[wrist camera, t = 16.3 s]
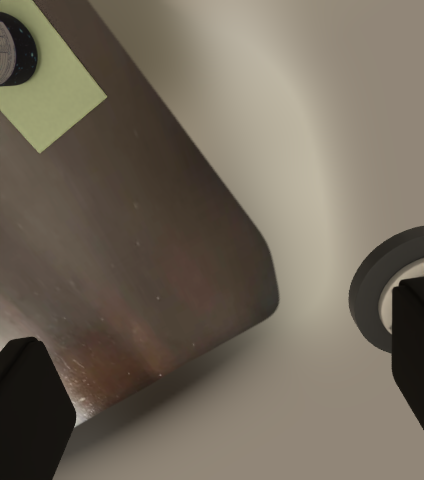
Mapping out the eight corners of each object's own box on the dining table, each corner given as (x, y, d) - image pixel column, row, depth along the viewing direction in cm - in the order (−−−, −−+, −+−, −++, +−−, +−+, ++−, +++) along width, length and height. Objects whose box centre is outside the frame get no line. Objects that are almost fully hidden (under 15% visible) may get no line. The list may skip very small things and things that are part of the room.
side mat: (107, 96, 34) (107, 97, 34) (40, 153, 36) (39, 153, 36) (-31, -82, 28) (-33, -83, 28) (-101, -3, 30) (-103, -3, 30)
